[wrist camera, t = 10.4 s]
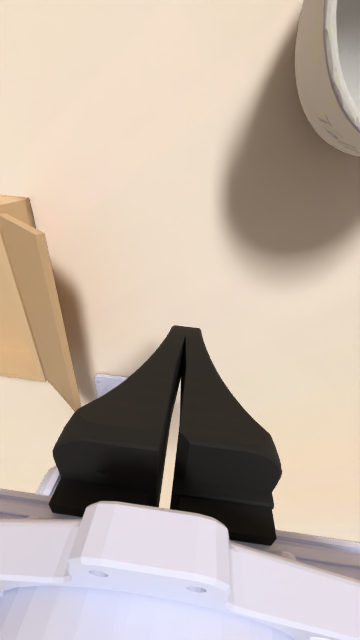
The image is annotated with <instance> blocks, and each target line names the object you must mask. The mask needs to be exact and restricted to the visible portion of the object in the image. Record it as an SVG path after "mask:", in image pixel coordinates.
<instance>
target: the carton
mask: <svg viewBox="0 0 360 640" xmlns="http://www.w3.org/2000/svg"><path fill="white" fill-rule="evenodd" d="M4 213H6V214H8V215H10V216H12V217H14V218H16V219H18V220H20V221H22V222H24V223H26V224H27V225H29V226H31V227H33V228H35V229H36V226H35V222H34V218H33V213H32V209H31V204H30V200H29V198H25V197H15V196H5V195H0V214H4ZM0 376H4V377H12V378H20V379H27V380H35V381H43V382H46V381H47V378H46V375H45V372H44V368H43V365H42V362H41V358H40V355H39V352H38V348H37V345H36V342H35V338H34V335H33V332H32V328H31V325H30V322H29V318H28V315H27V312H26V308H25V305H24V302H23V298H22V295H21V292H20V288H19V285H18V282H17V278H16V275H15V272H14V268H13V265H12V262H11V258H10V255H9V252H8V248H7V245H6V242H5V238H4V235H3V232H2V228H1V225H0Z"/></svg>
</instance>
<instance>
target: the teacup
mask: <svg viewBox="0 0 360 640" xmlns="http://www.w3.org/2000/svg"><path fill="white" fill-rule="evenodd" d="M295 76H296V85H297V90H298V95H299V99H300V102H301V105H302V108H303V111H304V113H305V115H306V117H307V119H308V121H309V123H310V124H311V126H312V127H313V129H314V130H315V131H316V132H317V134H318V135H319V136H320V137H321V138H322V139H323V140H324V141H326V142H327V143H328V144H330V145H331V146H332V147H334V148H336V149H338V150H340V151H342V152H345V153H347V154H350V155H354V156H358V157H360V0H304V2H303V7H302V11H301V15H300V19H299V24H298V31H297V38H296V47H295Z"/></svg>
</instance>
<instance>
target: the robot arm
mask: <svg viewBox="0 0 360 640" xmlns="http://www.w3.org/2000/svg"><path fill="white" fill-rule="evenodd" d="M180 379H181V400H180V426H179V435H178V443H177V452H176V461H175V469H174V478H173V487H172V496H171V504H170V509H164V508H159V501H160V494H161V486H162V479H163V472H164V464H165V457H166V450H167V443H168V436H169V428H170V422H171V417H172V412H173V408H174V404H175V400H176V396H177V391H178V387H179V383H180ZM95 385H96V391H97V398H98V399H96V400H94V401H92V402H90V403H88V404H86V405H85V406H83V407H81V408H79V409H77V410H76V412H75V413H74V414H73V416H72V417H71V418H70V420H69V421H68V423H67V424H66V426H65V427H64V429H63V431H62V433H61V435H60V437H59V439H58V441H57V442H56V444H55V446H54V449H53V458H54V460H55V463H56V466H54V467H53V468H51V469H49V471H48V472H47V474H46V475H45V477H44V479H43V480H42V482H41V484H40V486H39V488H38V490H37V492H36V494H33V493H26V492H20V491H13V490H6V489H0V640H360V542H354V541H347V540H341V539H334V538H327V537H321V536H314V535H307V534H301V533H294V532H287V531H281V530H275V526H274V520H273V514H272V509H273V508H274V502H273V496H272V492H273V490H274V488H275V486H276V485H277V483H278V481H279V480H280V478H281V475H282V469H281V463H280V459H279V456H278V453H277V450H276V447H275V445H274V442H273V440H272V437H271V435H270V434H269V433H268V432H267V431H266V430H265V429H264V428H262V427H261V426H260V425H259V424H258V423H257V422H256V421H255V420H254V419H253V418H252V417H251V416H250V415H249V414H248V413H247V412H246V411H245V410H244V408H243V407H242V406H241V405H240V403H239V402H238V401H237V400H236V399H235V397H234V396H233V395H232V394H231V392H230V391H229V389H228V388H227V387H226V385H225V384H224V382H223V381H222V379H221V377H220V376H219V374H218V372H217V370H216V369H215V367H214V365H213V363H212V361H211V359H210V356H209V354H208V352H207V349H206V347H205V344H204V341H203V338H202V333H201V330H200V329H199V328H192V327H183V326H175V325H174V326H173V327H172V328H171V330H170V332H169V334H168V335H167V337H166V338H165V340H164V341H163V342H162V344H161V345H160V346H159V347H158V349H157V350H156V351H155V352H154V353H153V354H152V356H151V357H150V358H149V359H148V360H147V361H146V362H145V363H144V364H143V365H142V366H141V367H140V368H139V369H138V370H137V371H136V372H134V373H133V374H132V375H131V376H130V377H120V376H112V375H104V374H96V376H95Z"/></svg>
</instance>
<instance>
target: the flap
mask: <svg viewBox="0 0 360 640" xmlns="http://www.w3.org/2000/svg"><path fill="white" fill-rule="evenodd" d="M0 225H1V228H2V232H3V235H4V238H5V242H6V245H7V248H8V252H9V255H10V258H11V262H12V265H13V268H14V272H15V275H16V278H17V282H18V285H19V288H20V292H21V295H22V298H23V302H24V305H25V308H26V312H27V315H28V318H29V322H30V325H31V328H32V332H33V335H34V338H35V342H36V345H37V348H38V352H39V355H40V358H41V362H42V365H43V368H44V372H45V375H46V378H47V380H48V381H49V382H50V384H51V385H52V386H53V387H54V388H55V389H56V390H57V392H58V393H59V394H60V395H61V396H62V397H63V398H64V400H65V401H66V402H67V403H68V404H69V405H70V406H71V407H72V409H73V410H74V411H75V412H76V410H77V409H79V408H81V402H80V398H79V393H78V388H77V384H76V379H75V374H74V370H73V365H72V360H71V355H70V351H69V346H68V341H67V337H66V332H65V327H64V323H63V318H62V313H61V308H60V304H59V299H58V294H57V290H56V285H55V280H54V275H53V271H52V266H51V261H50V257H49V252H48V247H47V243H46V238H45V233H43V232H41V231H39V230H37V229H35V228H33V227H31V226H29V225H27V224H26V223H24V222H22V221H20V220H18V219H16V218H14V217H12V216H10V215H8V214H6V213H4V214H0Z"/></svg>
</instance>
